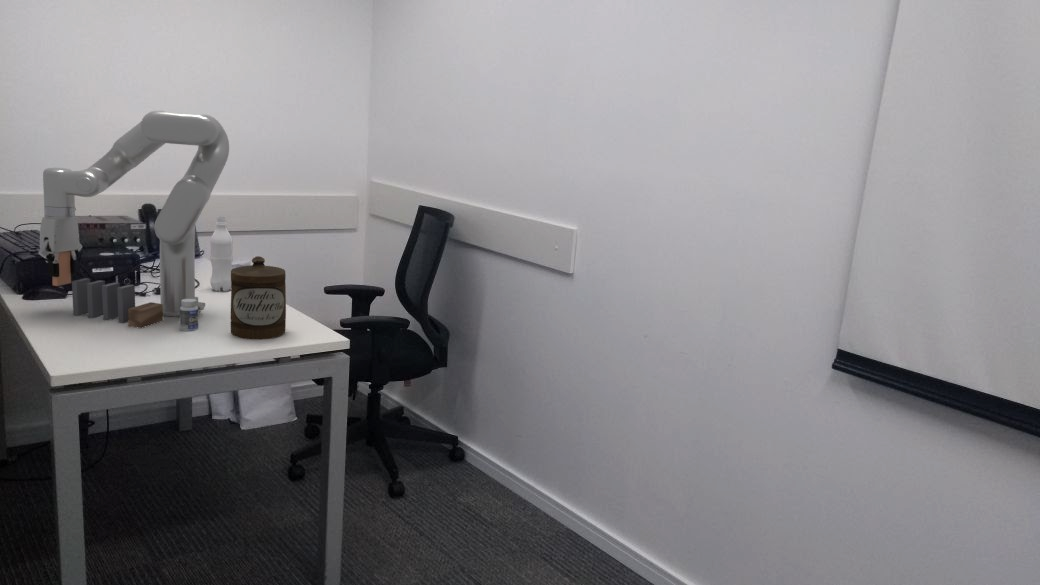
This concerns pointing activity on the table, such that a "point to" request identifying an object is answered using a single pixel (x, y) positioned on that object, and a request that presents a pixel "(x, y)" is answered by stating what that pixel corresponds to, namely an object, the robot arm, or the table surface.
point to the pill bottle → (189, 315)
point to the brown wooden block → (145, 314)
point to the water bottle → (221, 256)
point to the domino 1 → (63, 269)
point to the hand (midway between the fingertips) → (61, 274)
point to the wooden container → (258, 301)
